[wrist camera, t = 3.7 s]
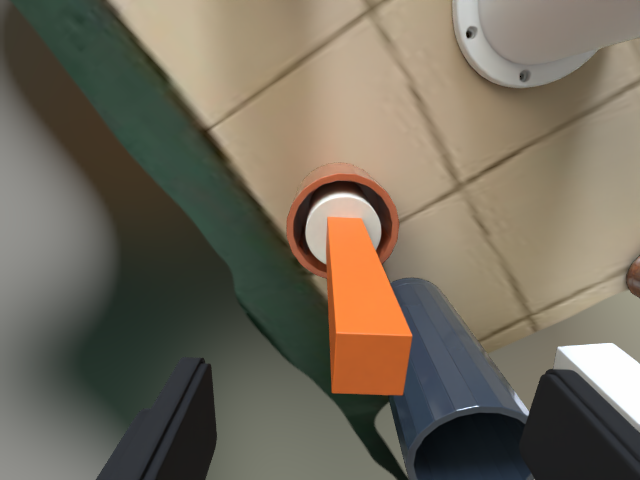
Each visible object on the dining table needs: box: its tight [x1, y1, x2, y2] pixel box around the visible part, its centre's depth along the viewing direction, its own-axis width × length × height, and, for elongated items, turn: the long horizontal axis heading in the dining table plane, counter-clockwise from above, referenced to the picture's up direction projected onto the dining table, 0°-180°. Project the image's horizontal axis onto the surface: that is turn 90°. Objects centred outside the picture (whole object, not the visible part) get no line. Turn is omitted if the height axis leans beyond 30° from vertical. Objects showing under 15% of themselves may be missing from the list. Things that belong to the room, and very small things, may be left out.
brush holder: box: [287, 163, 399, 279], centre depth 27 cm, size 8×8×7 cm
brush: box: [305, 181, 412, 395], centre depth 20 cm, size 5×5×20 cm
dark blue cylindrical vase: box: [388, 278, 535, 480], centre depth 27 cm, size 8×8×16 cm
